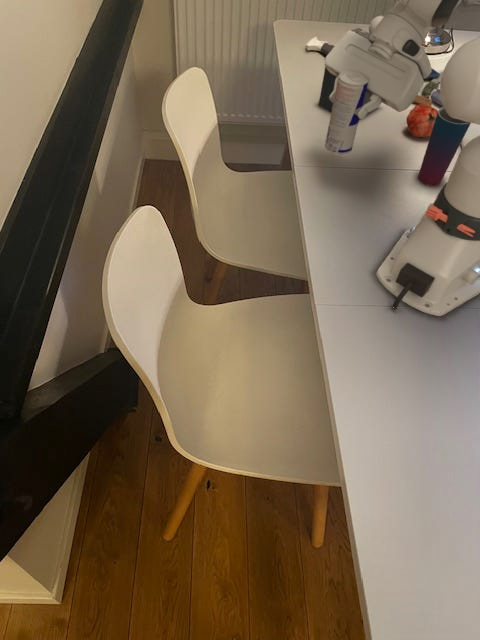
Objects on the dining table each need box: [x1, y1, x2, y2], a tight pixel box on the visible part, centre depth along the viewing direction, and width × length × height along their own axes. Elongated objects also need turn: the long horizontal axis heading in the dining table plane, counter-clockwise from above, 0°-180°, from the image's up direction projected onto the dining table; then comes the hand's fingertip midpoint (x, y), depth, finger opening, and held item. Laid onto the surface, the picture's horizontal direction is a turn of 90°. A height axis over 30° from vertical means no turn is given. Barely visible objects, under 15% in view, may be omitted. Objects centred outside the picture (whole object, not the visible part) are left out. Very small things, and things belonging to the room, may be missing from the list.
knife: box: [420, 71, 443, 98], centre depth 139 cm, size 20×1×3 cm
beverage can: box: [324, 71, 368, 156], centre depth 99 cm, size 6×6×15 cm
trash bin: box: [318, 65, 379, 116], centre depth 125 cm, size 11×11×11 cm
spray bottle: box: [305, 36, 335, 56], centre depth 146 cm, size 3×11×24 cm
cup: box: [417, 106, 472, 186], centre depth 105 cm, size 7×7×15 cm
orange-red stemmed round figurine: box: [406, 104, 439, 138], centre depth 120 cm, size 7×7×10 cm
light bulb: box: [368, 15, 385, 34], centre depth 146 cm, size 6×6×10 cm
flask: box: [430, 86, 443, 107], centre depth 132 cm, size 9×11×3 cm
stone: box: [412, 94, 433, 107], centre depth 132 cm, size 9×2×3 cm
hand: (344, 109), depth 97 cm, fingers closed on beverage can, 5 cm apart
